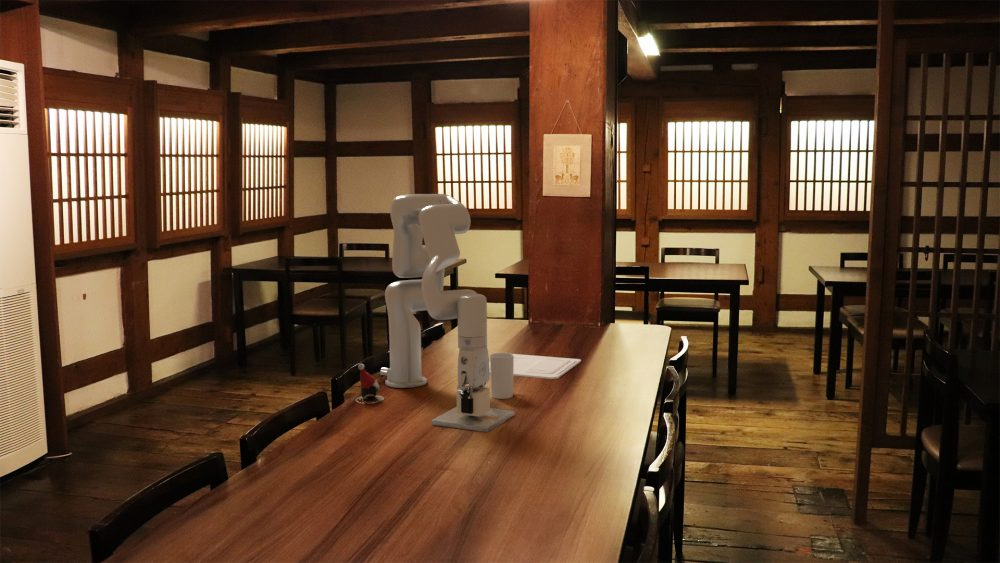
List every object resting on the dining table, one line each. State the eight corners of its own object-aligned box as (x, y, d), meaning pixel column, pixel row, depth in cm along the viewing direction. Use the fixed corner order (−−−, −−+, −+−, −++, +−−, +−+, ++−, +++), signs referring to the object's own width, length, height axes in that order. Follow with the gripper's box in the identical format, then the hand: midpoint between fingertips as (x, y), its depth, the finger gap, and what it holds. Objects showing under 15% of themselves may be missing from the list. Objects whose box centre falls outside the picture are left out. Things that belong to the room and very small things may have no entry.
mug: (508, 400, 242) (508, 358, 240) (486, 397, 244) (486, 356, 243) (521, 391, 251) (521, 351, 249) (500, 389, 253) (499, 349, 252)
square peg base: (431, 424, 219) (431, 393, 218) (460, 408, 233) (459, 379, 232) (487, 432, 212) (487, 400, 211) (513, 415, 227) (513, 385, 226)
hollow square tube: (456, 413, 221) (456, 390, 220) (468, 407, 227) (467, 384, 226) (479, 416, 218) (478, 392, 217) (489, 410, 224) (489, 386, 223)
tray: (473, 373, 275) (473, 369, 275) (505, 356, 301) (505, 351, 301) (556, 381, 265) (556, 376, 265) (582, 362, 291) (582, 357, 290)
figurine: (395, 382, 247) (375, 363, 238) (384, 414, 243) (364, 396, 233) (371, 380, 251) (351, 361, 241) (360, 411, 246) (339, 393, 237)
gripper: (470, 349, 211) (471, 420, 213) (499, 336, 226) (500, 402, 229) (443, 347, 214) (444, 416, 216) (474, 334, 229) (475, 399, 232)
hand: (473, 408), depth 222 cm, fingers closed on hollow square tube, 6 cm apart
